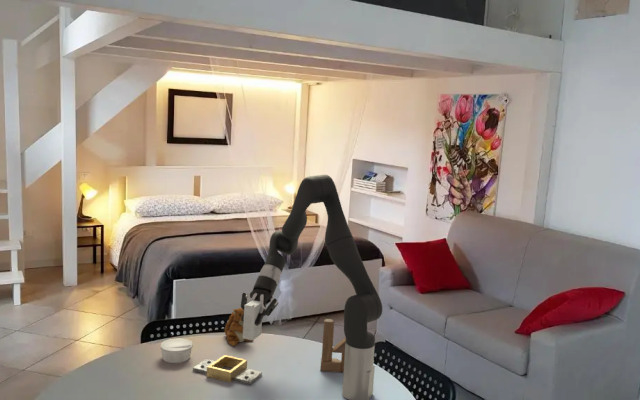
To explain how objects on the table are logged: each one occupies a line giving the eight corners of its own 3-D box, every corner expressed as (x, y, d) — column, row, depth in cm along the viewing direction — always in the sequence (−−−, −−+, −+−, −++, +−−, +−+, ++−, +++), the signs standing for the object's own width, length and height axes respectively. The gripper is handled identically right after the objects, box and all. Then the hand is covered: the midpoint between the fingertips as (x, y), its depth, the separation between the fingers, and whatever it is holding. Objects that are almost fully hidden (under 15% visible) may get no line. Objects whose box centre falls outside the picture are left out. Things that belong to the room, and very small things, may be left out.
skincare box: (250, 332, 191) (251, 299, 190) (262, 335, 190) (263, 301, 188) (242, 338, 186) (243, 304, 184) (253, 341, 184) (254, 306, 182)
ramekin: (175, 367, 186) (176, 353, 185) (153, 359, 192) (153, 344, 191) (199, 357, 196) (199, 343, 195) (176, 349, 201) (177, 335, 201)
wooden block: (351, 373, 190) (354, 323, 187) (320, 371, 190) (323, 321, 187) (350, 368, 193) (354, 320, 191) (320, 367, 193) (323, 318, 191)
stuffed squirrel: (233, 347, 206) (234, 314, 204) (216, 335, 217) (218, 303, 215) (256, 342, 212) (257, 310, 210) (239, 330, 223) (240, 299, 221)
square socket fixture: (263, 373, 185) (264, 363, 185) (248, 387, 175) (248, 376, 175) (208, 360, 193) (208, 351, 193) (190, 372, 183) (190, 362, 182)
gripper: (247, 271, 194) (227, 314, 185) (282, 277, 189) (265, 322, 180) (253, 282, 200) (235, 324, 190) (288, 288, 195) (271, 332, 185)
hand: (249, 323), depth 185 cm, fingers closed on skincare box, 4 cm apart
